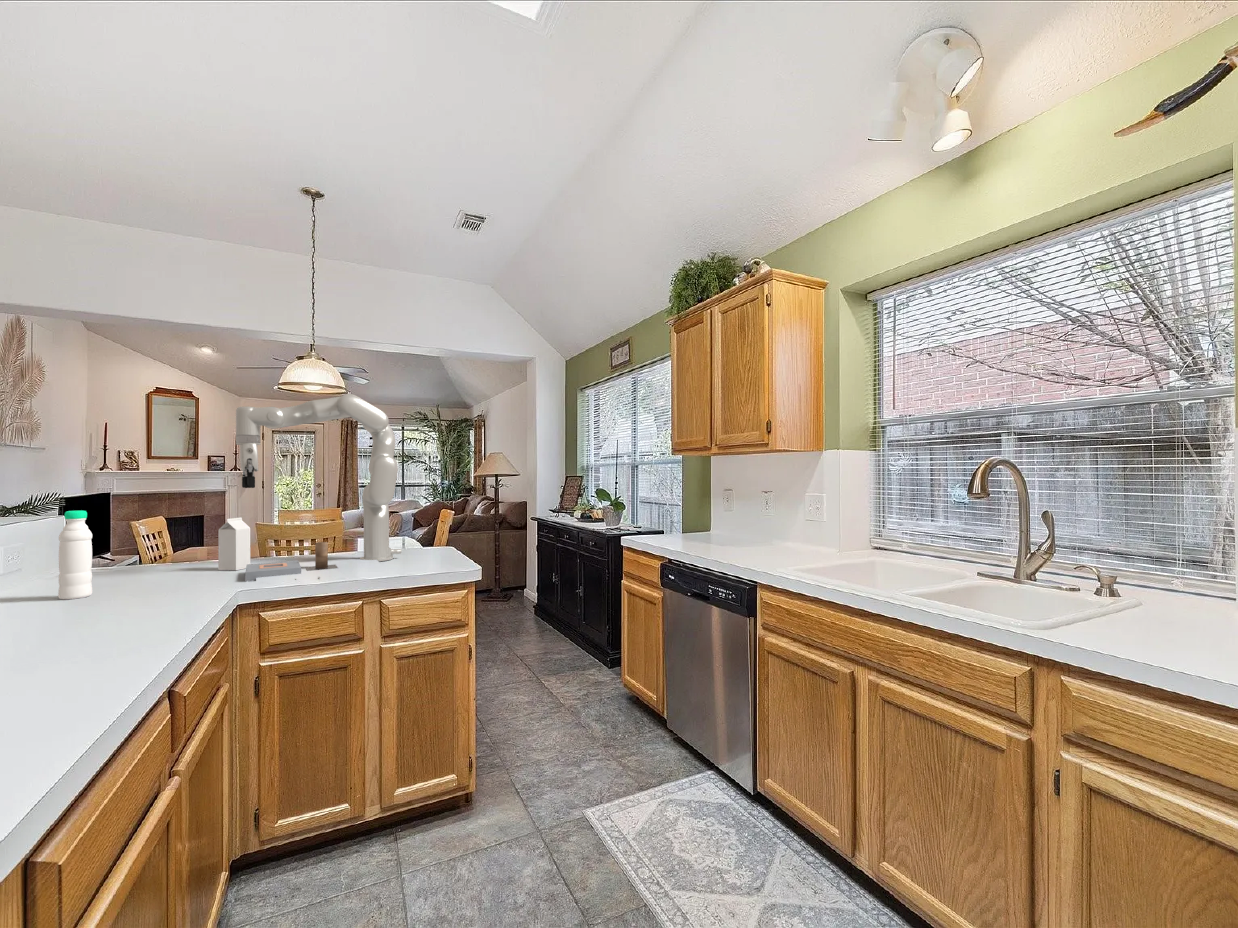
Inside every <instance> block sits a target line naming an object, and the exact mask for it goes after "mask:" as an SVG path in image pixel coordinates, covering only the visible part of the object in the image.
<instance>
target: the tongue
mask: <svg viewBox="0 0 1238 928" xmlns="http://www.w3.org/2000/svg"><path fill="white" fill-rule="evenodd" d="M304 567H305V570H306V571H307V572H311V571H321V570H332V569H335V570H336V569H339V567H338V566H337V564H328V567H327V568H315V565H314V566H304Z"/></svg>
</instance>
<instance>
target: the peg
mask: <svg viewBox="0 0 1238 928" xmlns="http://www.w3.org/2000/svg"><path fill="white" fill-rule="evenodd" d="M314 545H315V549H314V551H315V554H314V555H315V559H314V561H315V562H314V563H315V565H314V566H315V568H327V567H328V565H329V563H328V562H329V557H328V556H329V555H328V554H329V546H328V545H329V543H328V541H321V542H315V544H314Z"/></svg>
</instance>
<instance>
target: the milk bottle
mask: <svg viewBox="0 0 1238 928" xmlns="http://www.w3.org/2000/svg"><path fill="white" fill-rule="evenodd" d="M87 518H88V512H87V510H68V511H65V512H64V519H65V521H66V524H65V526H63V528H62V530H61V532H60V533H59V536H58V541H59V545H58V570H59V575H58V592H57V593H58V594H57V595H58V598H59V599H60V600H65V601H66V600H77V599H83V598H88V597H90V596H91V595H92V594H93V585H92V581H93V580H92V579H93V573H92V572H93V571H92V567H93V545H92V544H93V542H92V539H93V533H92V531H91V530H90V529H89V526H88V525H87V524H86V520H87Z"/></svg>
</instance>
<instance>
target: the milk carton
mask: <svg viewBox="0 0 1238 928" xmlns="http://www.w3.org/2000/svg"><path fill="white" fill-rule="evenodd" d="M217 536H218V541H217V542H218V550H217V551H218V558H217V559H218V561H217V563H218V571H239V570H246V566H247V564H251V527H250V526H249V525H248V524H247V523H246V522H245V521H243V517H233V518H232V517H231V518H227V519H226V522H225V523H224V524H222V526H221V527H219V529H218V535H217Z"/></svg>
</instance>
